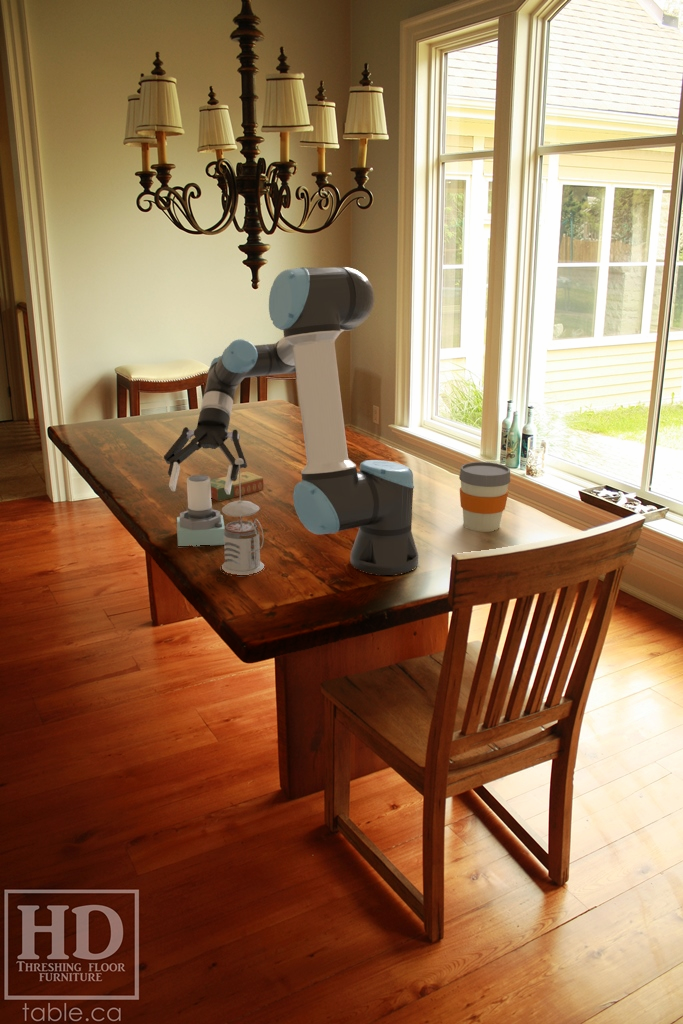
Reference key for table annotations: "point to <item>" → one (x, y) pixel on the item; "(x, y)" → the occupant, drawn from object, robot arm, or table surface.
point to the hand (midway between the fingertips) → (199, 490)
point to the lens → (199, 497)
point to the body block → (200, 530)
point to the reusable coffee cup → (483, 494)
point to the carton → (236, 486)
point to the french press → (239, 548)
